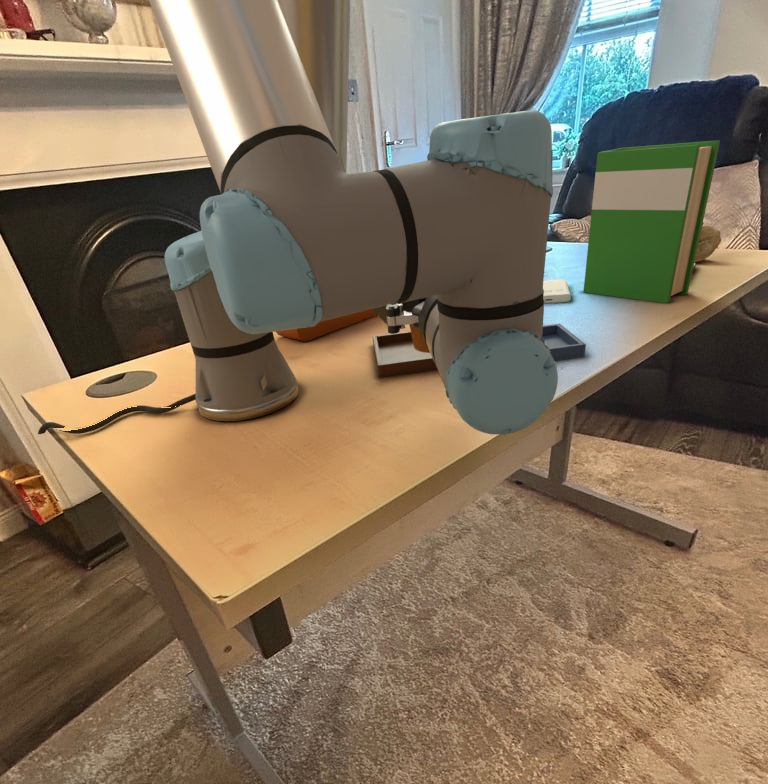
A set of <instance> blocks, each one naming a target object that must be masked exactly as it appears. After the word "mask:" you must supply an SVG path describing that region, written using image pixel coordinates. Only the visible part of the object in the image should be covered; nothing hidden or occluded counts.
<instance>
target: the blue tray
mask: <svg viewBox="0 0 768 784" xmlns="http://www.w3.org/2000/svg"><path fill="white" fill-rule="evenodd" d="M542 340H544V342H545V345H546V346H547V347H548V348H549V350H550V351H551V352H550V354H551V355H552V357H553V359H554V361H555V362H556V361H562V360H569V359H576V358H577V359H578V358H584V357H585V356H586V348H587V347H586V346H587V344H586V343H585V342H584V341H582V340H581V339H580V338H579V337H578V336H576V335H575V334H574V333H572V332H571V331H570V330H569V329H568V328H566V327H565V326H564V325H562V324H561V323H553V324H545V325H543V331H542Z"/></svg>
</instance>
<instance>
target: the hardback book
mask: <svg viewBox="0 0 768 784" xmlns="http://www.w3.org/2000/svg"><path fill="white" fill-rule="evenodd" d="M720 143H721V140H720V139H719V140H718V139H717V140H706V141H692V142H681V143H680V142H679V143H667V144H655V145H654V144H653V145H643V146H641V145H640V146H630V147H629V146H628V147H620V148H613V149H610V150H609V149H608V150H604V151H599V152H597V156H596V164H595V173H594V174H595V175H594V185H593V194H592V195H593V196H592V205H591V213H590V214H591V215H590V223H589V232H588V233H589V234H588V243H587V251H586V264H585V273H584V283H583V291H582V292H583V293H587V294H594V295H601V296H610V297H616V298H624V299H632V300H639V301H647V302H655V303H663V304H669V303H670V302H671V298H672V296H674V295H676V294H677V295H683V296H685V295H688V294H689V290H690V285H691V282H692V281H691V280H692V275H693V272H694V270H693V267H694V263H696V262H695V257H696V253H697V248H698V243H699V238H700V234H701V229H702V226H703V224H704V219H705V214H706V210H707V204H708V201H709V195H710V191H711V186H712V182H713V181H712V180H713V176H714V171H715V168H716V163H717V158H718V152H719V148H720ZM692 271H693V272H692Z"/></svg>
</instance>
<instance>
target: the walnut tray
mask: <svg viewBox="0 0 768 784" xmlns="http://www.w3.org/2000/svg"><path fill="white" fill-rule="evenodd" d="M372 343H373V349H374V350H373V351H374V356H375V362H376V366H377V371H378V377H379V378H382V377H383V378H384V377H389V376H390V377H392V376H396V375H405V374H413V373H420V372H427V371H436V370H438V369H437V367H436V364H435V362H434V361H433V358H432V356H431V353H425V352H420V351H418V350H416V349H415V348H414V345H413V340H412V335H411V330H409V331H399V332H398V333H396V334H391V333H385V334H379V335H372Z"/></svg>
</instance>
